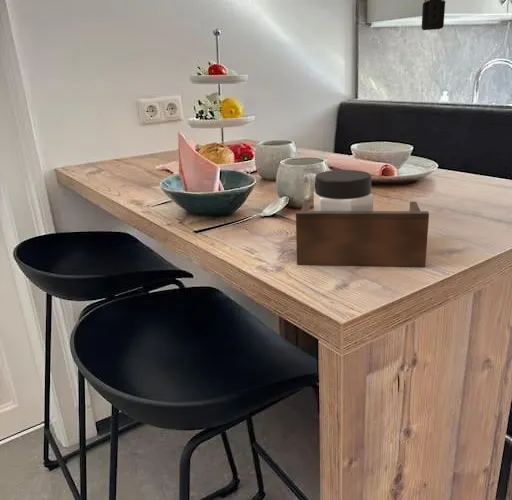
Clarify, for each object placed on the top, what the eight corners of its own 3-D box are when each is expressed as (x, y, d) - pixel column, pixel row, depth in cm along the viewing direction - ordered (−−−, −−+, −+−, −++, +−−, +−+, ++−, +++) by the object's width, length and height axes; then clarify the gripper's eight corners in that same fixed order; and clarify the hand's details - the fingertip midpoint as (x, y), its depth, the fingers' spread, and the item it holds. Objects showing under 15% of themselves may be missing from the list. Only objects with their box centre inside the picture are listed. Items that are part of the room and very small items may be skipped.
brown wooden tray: (296, 264, 73) (295, 213, 70) (304, 236, 85) (303, 191, 82) (425, 267, 70) (429, 213, 67) (414, 237, 82) (417, 190, 79)
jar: (343, 239, 83) (344, 167, 78) (382, 251, 76) (385, 174, 72) (302, 252, 78) (301, 175, 74) (339, 266, 71) (340, 184, 67)
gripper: (479, -124, 68) (466, 24, 74) (456, -92, 81) (447, 30, 88) (421, -117, 69) (414, 27, 75) (408, -87, 83) (403, 33, 89)
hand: (432, 29), depth 81 cm, fingers closed
